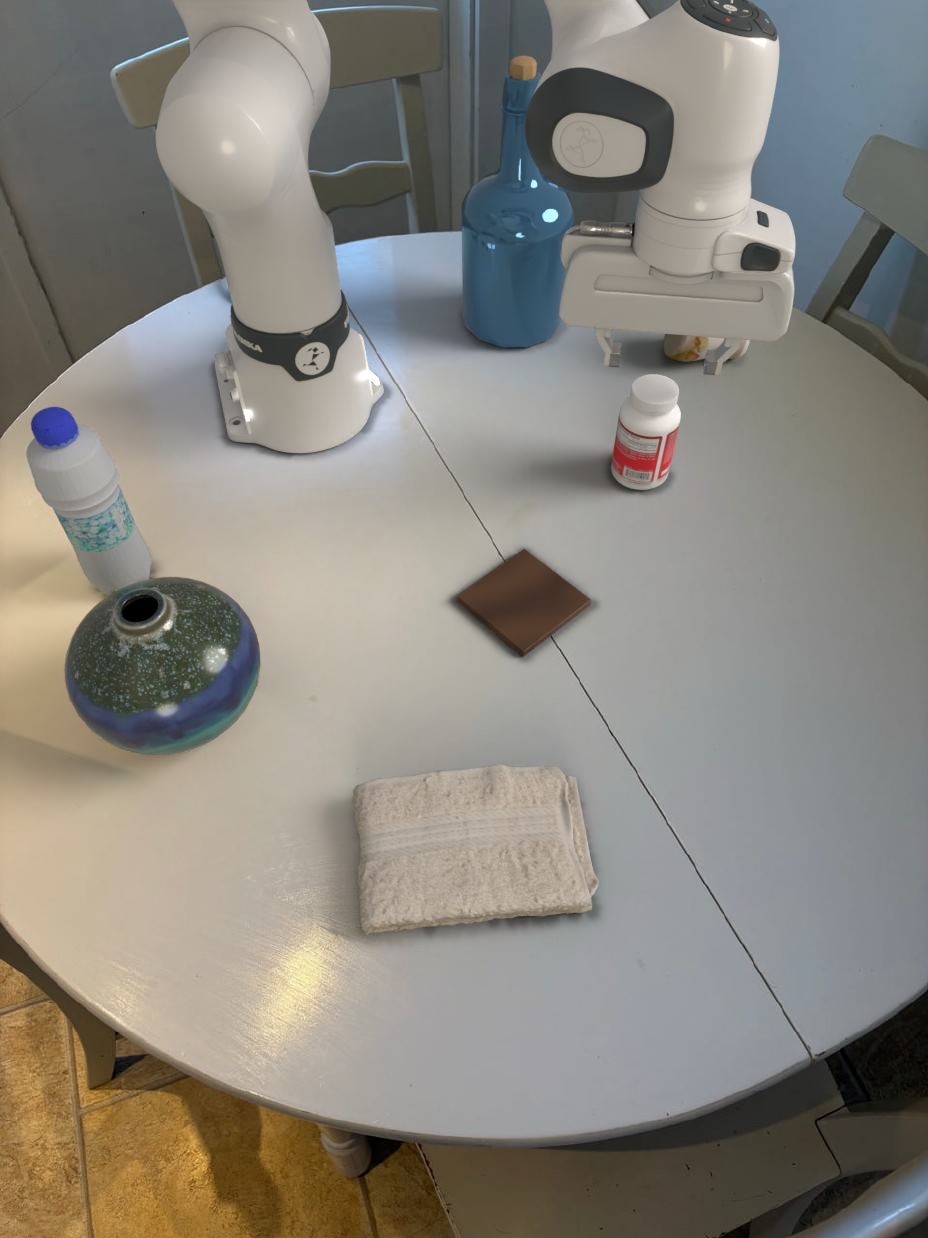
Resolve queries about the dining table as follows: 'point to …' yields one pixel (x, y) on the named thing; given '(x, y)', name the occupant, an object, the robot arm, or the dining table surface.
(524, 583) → the coaster
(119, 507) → the bottle
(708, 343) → the mug
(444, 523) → the dining table surface
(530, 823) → the washcloth
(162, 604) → the vase
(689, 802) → the dining table surface
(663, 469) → the pill bottle
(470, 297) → the wine bottle
